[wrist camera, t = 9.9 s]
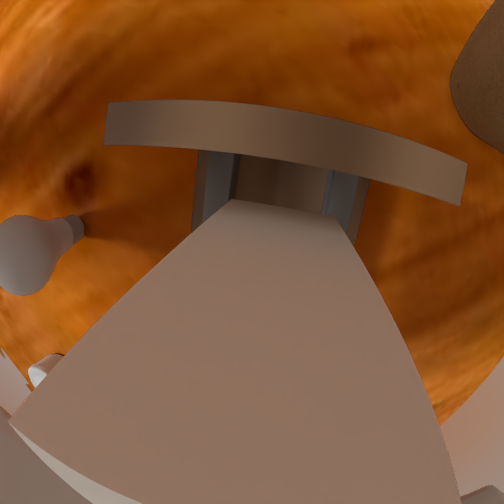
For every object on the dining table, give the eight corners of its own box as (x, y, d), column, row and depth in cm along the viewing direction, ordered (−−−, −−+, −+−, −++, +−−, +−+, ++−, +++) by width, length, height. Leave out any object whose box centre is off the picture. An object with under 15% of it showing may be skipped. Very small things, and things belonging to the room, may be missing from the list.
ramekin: (75, 399, 35) (61, 419, 30) (36, 349, 32) (18, 368, 27) (113, 401, 33) (98, 426, 28) (68, 343, 29) (46, 366, 25)
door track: (189, 353, 26) (145, 450, 15) (206, 125, 18) (108, 102, 7) (307, 375, 25) (308, 482, 14) (370, 153, 18) (468, 163, 6)
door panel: (211, 417, 16) (169, 547, 6) (231, 198, 10) (7, 421, 1) (271, 428, 15) (250, 564, 6) (335, 217, 10) (461, 502, 1)
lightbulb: (109, 255, 23) (28, 315, 13) (67, 255, 24) (-8, 304, 14) (97, 190, 21) (0, 225, 11) (55, 198, 22) (-30, 231, 12)
